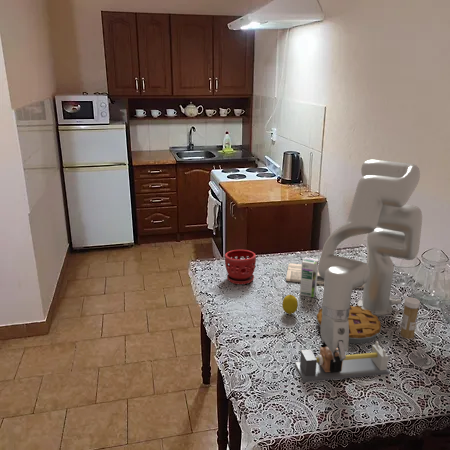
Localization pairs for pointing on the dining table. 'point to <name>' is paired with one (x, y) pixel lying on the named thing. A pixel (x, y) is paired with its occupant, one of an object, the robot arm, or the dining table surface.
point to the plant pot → (240, 266)
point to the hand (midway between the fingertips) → (330, 363)
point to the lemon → (290, 304)
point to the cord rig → (344, 365)
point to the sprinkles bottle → (409, 317)
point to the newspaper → (295, 274)
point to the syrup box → (309, 277)
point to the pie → (359, 325)
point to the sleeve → (327, 358)
